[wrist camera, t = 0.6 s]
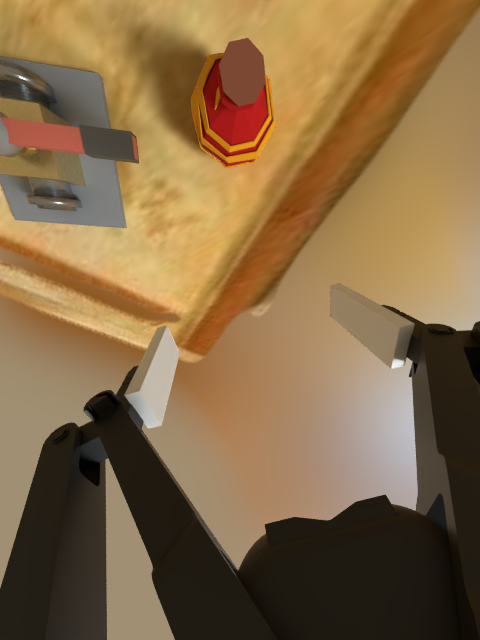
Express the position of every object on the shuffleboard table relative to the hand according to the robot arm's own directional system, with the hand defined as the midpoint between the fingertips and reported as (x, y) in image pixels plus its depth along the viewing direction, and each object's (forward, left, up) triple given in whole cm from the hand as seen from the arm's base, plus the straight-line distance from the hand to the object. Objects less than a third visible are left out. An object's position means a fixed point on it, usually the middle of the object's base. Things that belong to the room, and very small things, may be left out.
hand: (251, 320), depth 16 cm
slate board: (-13, -26, -26) cm, 39 cm away
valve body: (-13, -26, -26) cm, 39 cm away
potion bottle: (-18, -1, -26) cm, 32 cm away
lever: (-13, -20, -17) cm, 29 cm away
